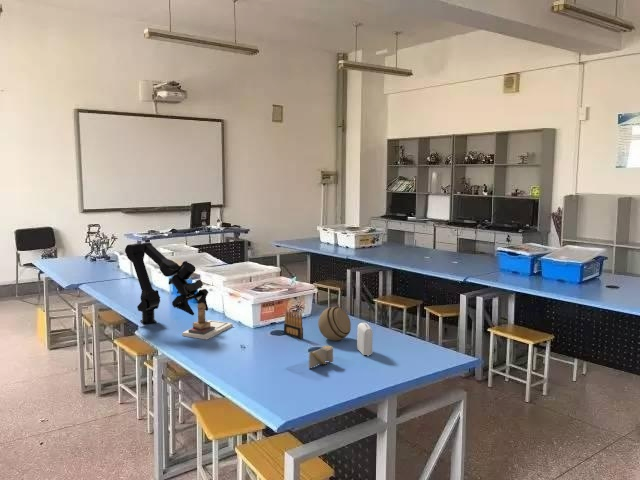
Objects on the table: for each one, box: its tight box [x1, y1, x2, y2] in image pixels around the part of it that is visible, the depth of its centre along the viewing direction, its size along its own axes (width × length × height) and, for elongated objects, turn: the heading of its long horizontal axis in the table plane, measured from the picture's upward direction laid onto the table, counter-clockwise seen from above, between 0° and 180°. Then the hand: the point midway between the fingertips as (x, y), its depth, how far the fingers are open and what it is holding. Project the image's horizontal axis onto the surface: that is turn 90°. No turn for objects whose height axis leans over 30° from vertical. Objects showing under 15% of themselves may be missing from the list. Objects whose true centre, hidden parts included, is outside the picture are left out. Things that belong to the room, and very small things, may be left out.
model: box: [308, 345, 334, 369], centre depth 212 cm, size 3×11×8 cm, turn 141°
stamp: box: [192, 303, 210, 331], centre depth 248 cm, size 6×6×12 cm
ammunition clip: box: [283, 308, 304, 340], centre depth 248 cm, size 11×2×12 cm, turn 48°
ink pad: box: [188, 326, 215, 335], centre depth 249 cm, size 9×8×1 cm
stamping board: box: [181, 319, 234, 340], centre depth 254 cm, size 22×13×2 cm, turn 159°
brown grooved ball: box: [318, 306, 352, 342], centre depth 244 cm, size 15×15×15 cm
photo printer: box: [356, 322, 374, 356], centre depth 228 cm, size 10×4×12 cm, turn 14°
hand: (200, 312), depth 248 cm, fingers open, 9 cm apart
